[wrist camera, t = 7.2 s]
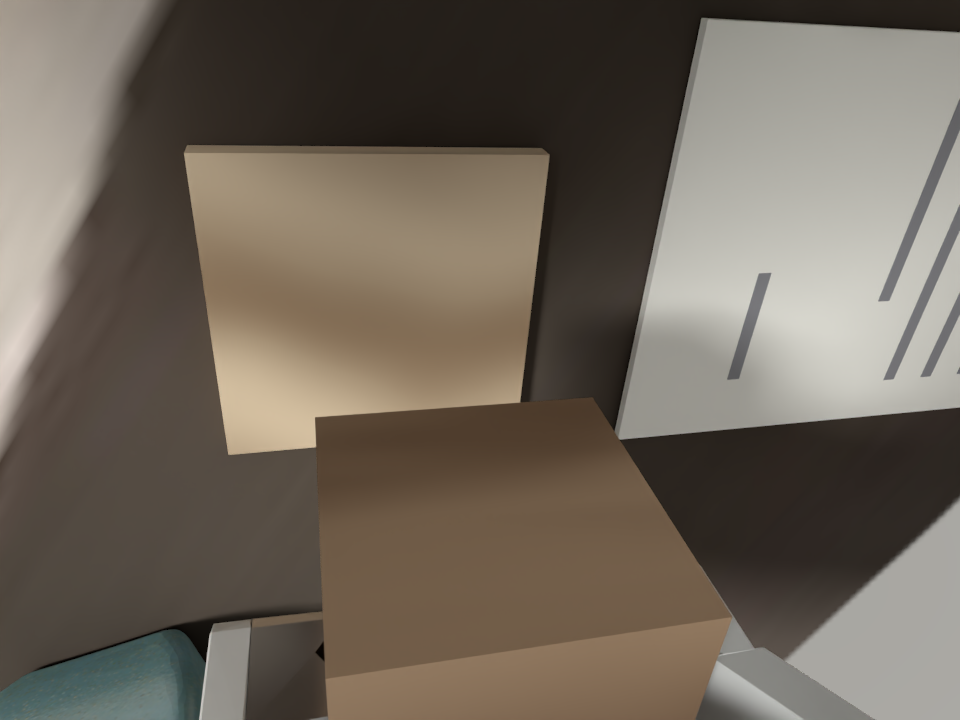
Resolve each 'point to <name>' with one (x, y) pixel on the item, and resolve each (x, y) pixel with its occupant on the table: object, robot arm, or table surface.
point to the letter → (804, 233)
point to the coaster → (363, 280)
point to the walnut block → (504, 571)
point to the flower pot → (115, 684)
